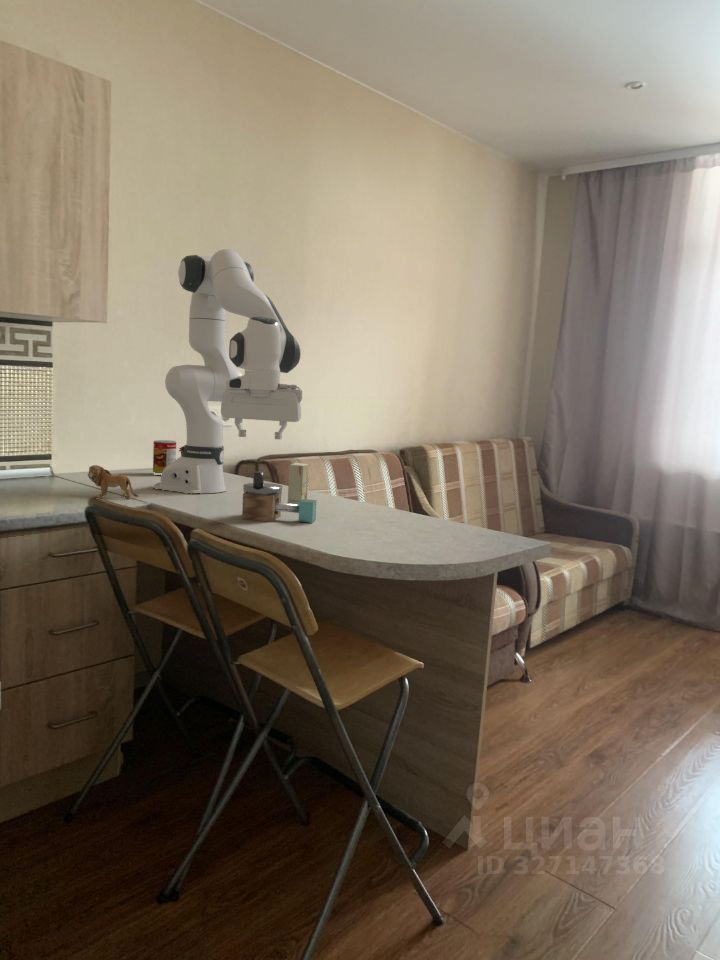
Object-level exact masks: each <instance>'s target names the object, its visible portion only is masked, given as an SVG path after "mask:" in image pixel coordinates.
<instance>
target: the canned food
mask: <svg viewBox="0 0 720 960" xmlns="http://www.w3.org/2000/svg"><path fill="white" fill-rule="evenodd" d="M152 449H153V450H152V451H153V453H152V455H153V456H152V459H153V460H152V465H153V466H152V473H153V472H155V473H162V472H163V470H164V469H165V468H166V467H167V466H168V465H170V464H171V463H172V462H174V461H175V460H177V441H176V440H166V439H165V440H164V439H162V440H161V439H160V440H159V439H157V440H156V439H155V440H153V447H152Z"/></svg>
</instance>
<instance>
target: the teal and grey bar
mask: <svg viewBox="0 0 720 960" xmlns="http://www.w3.org/2000/svg"><path fill="white" fill-rule="evenodd" d="M275 511H281V513H282V512H284V513H293V514H294V513H297V514H298V522H303V523H313V522H315V521H316V520H317V519H316V518H317V499H308V498H307V499H303V500H301V501H299V505H298V504H288V502H287V503H283V502H281V503H275Z"/></svg>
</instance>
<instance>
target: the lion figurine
mask: <svg viewBox="0 0 720 960" xmlns="http://www.w3.org/2000/svg"><path fill="white" fill-rule="evenodd" d="M87 477H88V479H89V480H90V481H91V482H93V484H94V485H95V486H96V487H100V491H101V494H99V497H100V498H104V497H105V496H107V495H108V489H109V488H118V487H119V488H120V489H121V490H122V491H123V492H124V494H122V495H121V497H122V496H123V498H125V499H126V500H129V499H131V494H132V496H134V497H136V498H139V494H136V493H135V492H134V491H133V487H132V483H131V480H130V478H129V477H128V476H127V475H125V474H116V475H115V474H112V473H111V472H110V471H109V470H108V469H105V468H104V467H102V466H100V465H97V464H93V465H91V466H89V467H88V472H87ZM128 488H129V489H130V490H129V489H128ZM130 492H131V493H130ZM103 496H104V497H103ZM125 496H126V497H125Z"/></svg>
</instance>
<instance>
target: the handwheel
mask: <svg viewBox="0 0 720 960" xmlns="http://www.w3.org/2000/svg"><path fill="white" fill-rule="evenodd" d="M264 475H265V472H264V471H253V479H252V480H253V481H252V482H249V483H244V484H243V485H242V486H243V487H242V488H243V493H249V494H257V495H275V494H280V493H281V494H282V492H283V485H281V484H278V483H277V484H276V483H269V482H264V478H265V476H264Z"/></svg>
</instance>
